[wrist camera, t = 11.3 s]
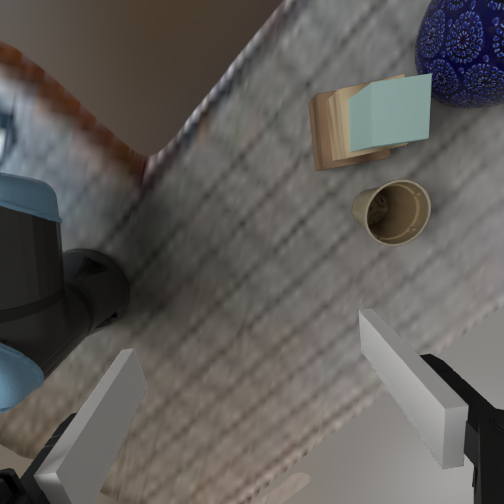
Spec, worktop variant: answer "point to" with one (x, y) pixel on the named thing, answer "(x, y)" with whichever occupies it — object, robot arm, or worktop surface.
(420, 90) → the teal cube
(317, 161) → the tower base
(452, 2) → the planter
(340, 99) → the tower top
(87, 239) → the worktop surface
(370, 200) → the flower pot
